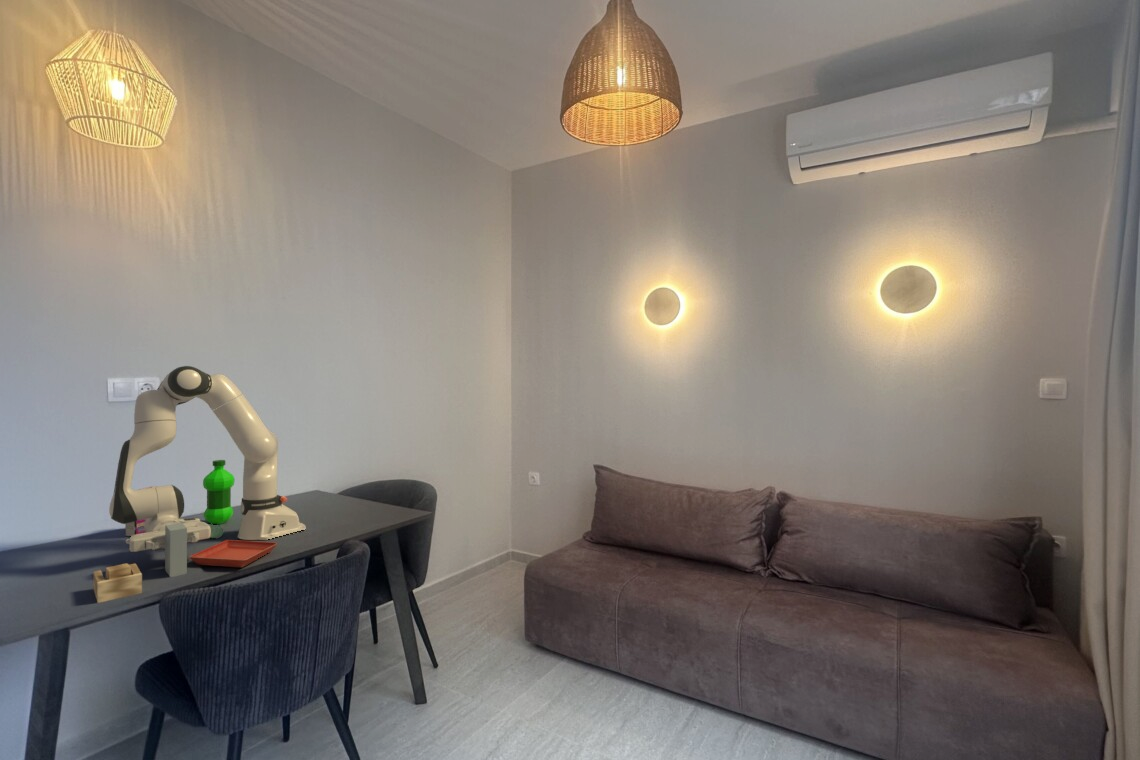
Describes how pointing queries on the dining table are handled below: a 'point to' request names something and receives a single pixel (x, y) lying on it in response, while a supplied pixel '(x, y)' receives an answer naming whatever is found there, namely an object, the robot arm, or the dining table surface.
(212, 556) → the plant saucer
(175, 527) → the grey rectangular block
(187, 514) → the dining table surface
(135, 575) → the rack
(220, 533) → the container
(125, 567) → the offcut upper
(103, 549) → the dining table surface
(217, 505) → the plastic bottle
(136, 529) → the candy bar box
